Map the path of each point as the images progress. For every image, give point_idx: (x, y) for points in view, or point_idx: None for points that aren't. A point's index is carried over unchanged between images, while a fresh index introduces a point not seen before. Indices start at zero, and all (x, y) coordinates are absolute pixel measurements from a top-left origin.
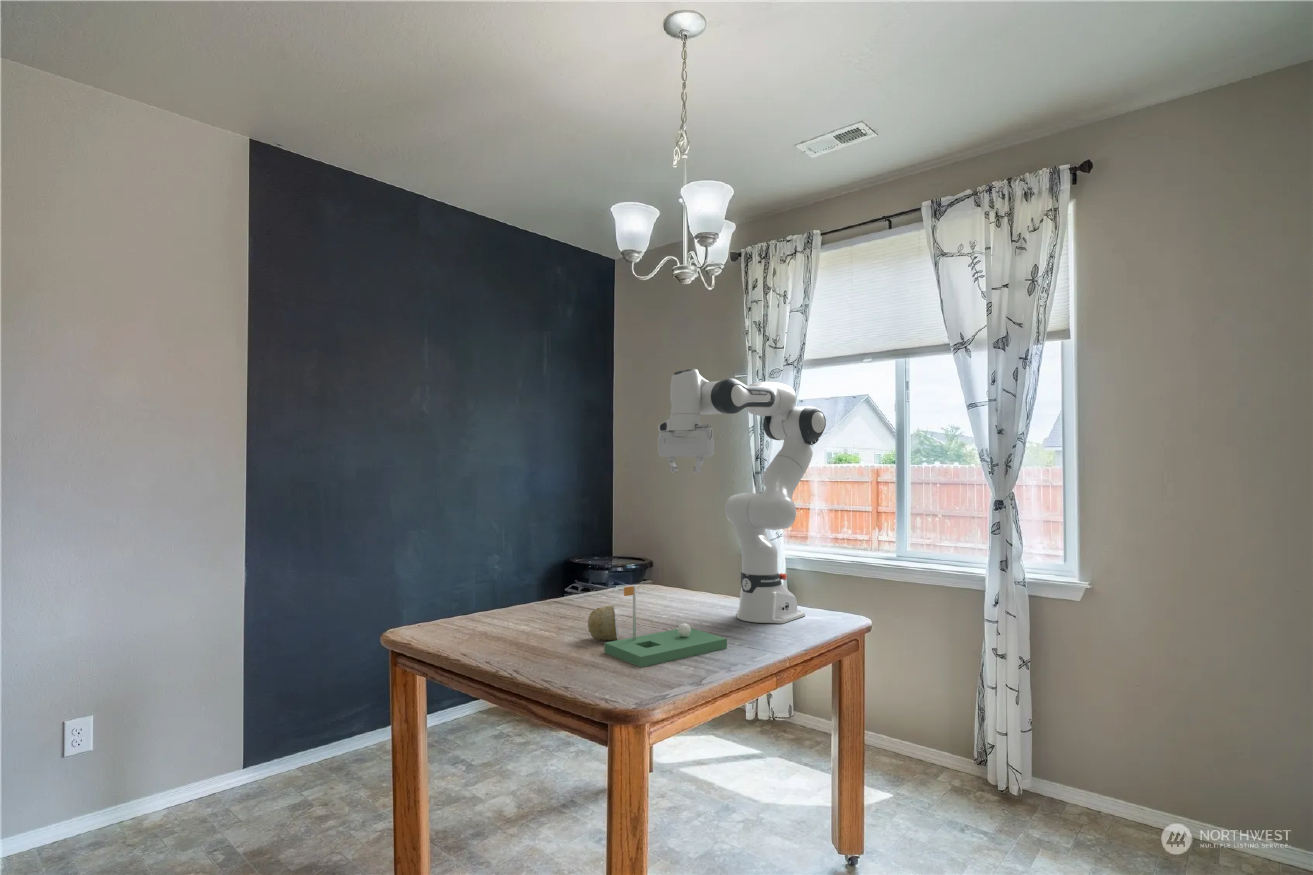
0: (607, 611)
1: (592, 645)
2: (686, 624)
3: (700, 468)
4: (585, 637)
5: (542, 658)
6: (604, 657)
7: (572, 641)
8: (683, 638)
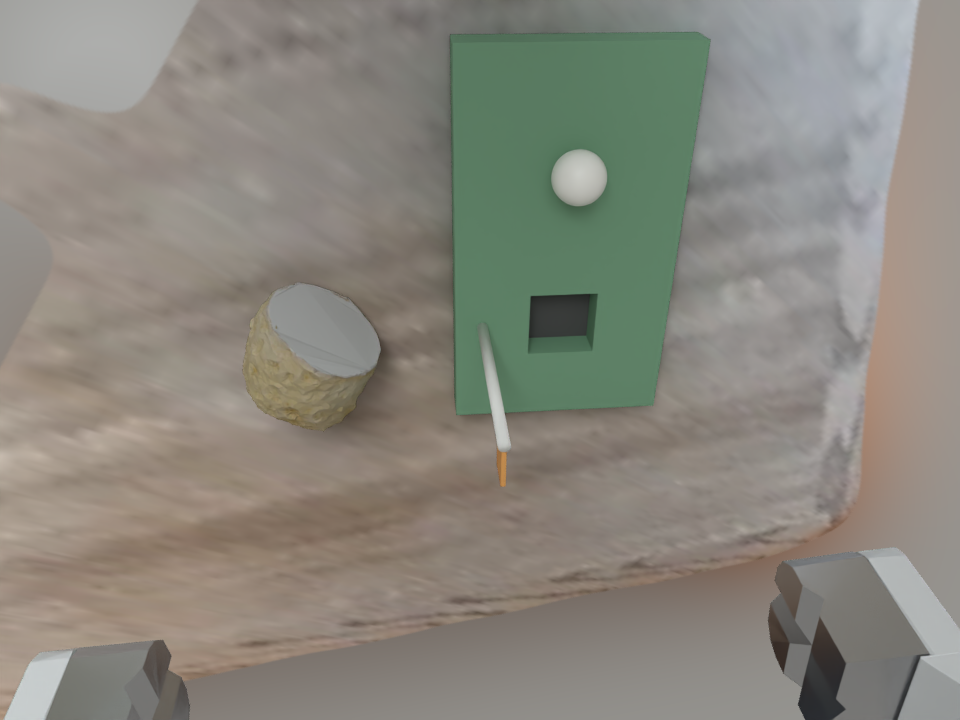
0: (334, 393)
1: None
2: (595, 183)
3: (942, 631)
4: None
5: (401, 532)
6: None
7: None
8: None
